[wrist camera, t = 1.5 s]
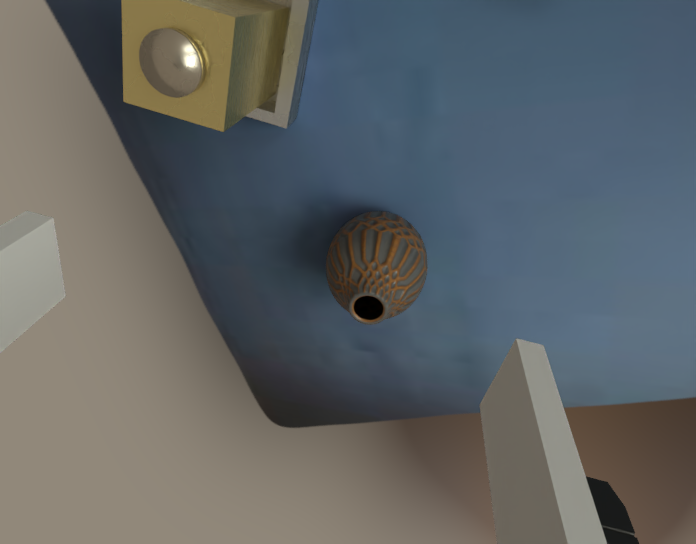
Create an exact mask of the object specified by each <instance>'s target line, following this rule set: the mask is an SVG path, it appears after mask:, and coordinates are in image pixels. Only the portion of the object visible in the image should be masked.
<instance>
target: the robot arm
mask: <svg viewBox="0 0 696 544" xmlns="http://www.w3.org/2000/svg"><path fill="white" fill-rule="evenodd" d="M65 296H66V295H65V288H64V283H63V275H62V269H61V263H60V256H59V250H58V243H57V237H56V231H55V224H54V218H53V217H49V216H45V215H41V214H37V213H34V212H30V211H25V212H24V213H22V214H20V215H18V216H16V217H15V218H13V219H11V220H9V221H8V222H6V223H4V224H2V225H1V226H0V353H1V352H2V351H3V350H4V349H6V348H7V347H8V346H9V345H10V344H11V343H12V342H14V341H15V340H16V339H17V338H18V337H19V336H21V335H22V334H23V333H24V332H25V331H26V330H27V329H29V328H30V327H31V326H32V325H33V324H34V323H36V322H37V321H38V320H39V319H40V318H41V317H42V316H43V315H45V314H46V313H47V312H48V311H49V310H51V309H52V308H53V307H54V306H55V305H56V304H58V303H59V302H60V301H61V300H62V299H63V298H64V297H65ZM480 411H481V419H482V427H483V435H484V443H485V451H486V459H487V467H488V475H489V483H490V491H491V499H492V507H493V515H494V523H495V530H496V539H497V544H639V542H638V540H637V538H635V537H634V533H635V532H634V529H633V527H632V524H631V521H630V519H629V516H628V513H627V511H626V508H625V506H624V505H623V503H622V502H621V500H620V499H619V498H618V496H617V495H616V494H615V492H614V491H613V490H612V488H611V486H610V485H609V484H608V482H605V481H601V480H597V479H593V478H590V477H586V476H585V473H584V470H583V467H582V464H581V461H580V458H579V454H578V451H577V448H576V445H575V442H574V439H573V436H572V433H571V430H570V426H569V423H568V420H567V417H566V414H565V411H564V408H563V405H562V402H561V398H560V395H559V392H558V389H557V386H556V383H555V380H554V377H553V374H552V370H551V367H550V364H549V361H548V358H547V355H546V352H545V349H544V346H543V345H540V344H536V343H532V342H528V341H525V340H521V339H517V338H516V340H515V341H514V343H513V345H512V347H511V349H510V351H509V352H508V354H507V356H506V358H505V360H504V361H503V363H502V365H501V367H500V369H499V371H498V372H497V374H496V376H495V378H494V380H493V382H492V383H491V385H490V387H489V389H488V391H487V392H486V394H485V396H484V398H483V400H482V402H481V403H480Z"/></svg>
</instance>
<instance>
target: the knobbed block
mask: <svg viewBox="0 0 696 544" xmlns="http://www.w3.org/2000/svg"><path fill="white" fill-rule="evenodd" d="M288 13H289V7H286V6H283V5H280V4H276V3H273V2H270V1H267V0H122V50H123V102H126V103H129V104H132V105H136V106H139V107H142V108H146V109H149V110H152V111H156V112H159V113H162V114H166V115H169V116H172V117H175V118H179V119H182V120H185V121H189V122H192V123H195V124H199V125H202V126H205V127H209V128H212V129H215V130H219V131H222V132H224V131H226V130H227V129H228V128H230V127H231V126H233V125H234V124H235V123H237V122H238V121H239V120H241V119H242V118H243V117H245V116H246V115H248V114H249V113H250V112H252V111H253V110H254V109H256V108H257V107H259V106H260V105H261V104H263V103H264V102H265V101H267V100H268V99H269V98H271V97H272V96H274V95H275V94H276V89H277V83H278V77H279V70H280V64H281V58H282V51H283V45H284V39H285V32H286V26H287V20H288Z"/></svg>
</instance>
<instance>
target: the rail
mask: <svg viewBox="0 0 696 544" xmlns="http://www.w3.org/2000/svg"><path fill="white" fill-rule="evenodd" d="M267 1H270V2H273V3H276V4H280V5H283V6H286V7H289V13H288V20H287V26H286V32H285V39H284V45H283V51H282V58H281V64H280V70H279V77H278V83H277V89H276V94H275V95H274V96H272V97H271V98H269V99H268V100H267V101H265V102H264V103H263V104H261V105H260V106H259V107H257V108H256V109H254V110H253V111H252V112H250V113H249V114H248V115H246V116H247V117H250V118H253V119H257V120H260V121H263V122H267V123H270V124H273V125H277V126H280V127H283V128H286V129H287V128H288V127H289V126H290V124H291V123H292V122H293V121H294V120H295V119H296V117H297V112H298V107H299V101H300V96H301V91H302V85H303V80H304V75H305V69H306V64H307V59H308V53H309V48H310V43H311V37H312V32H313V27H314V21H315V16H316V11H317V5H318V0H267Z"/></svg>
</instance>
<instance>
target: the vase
mask: <svg viewBox="0 0 696 544" xmlns="http://www.w3.org/2000/svg"><path fill="white" fill-rule="evenodd" d="M326 275H327V281H328V284H329V288H330V290H331V292H332V294H333V296H334V298H335V299H336V301H337V302H338V303H339V304H340V305H341V306H342V307H343V308H344V309H345V310H347V311H348V312H349V313H350V314H351V316H352V317H353V318H354V319H355V320H357V321H358V322H360V323H363V324H377V323H379V322H381V321H383V320H384V319H388V318H391V317H394V316H396V315H398V314H400V313H402V312H403V311H405V310H406V309H407V308H408V307H409V306H411V304H412V303H413V302H414V301H415V300H416V298H417V297H418V295H419V294H420V292H421V290H422V288H423V285H424V283H425V279H426V275H427V254H426V249H425V246H424V243H423V241H422V239H421V237H420V235H419V233H418V232H417V231H416V229H415V228H414V227H413V226H412V225H411V224H410V223H409V222H408V221H406V220H405V219H404V218H402V217H400V216H398V215H396V214H393V213H390V212H384V211H373V212H367V213H363V214H360V215H358V216H356V217H354V218H353V219H351V220H349V221H348V222H347V223H346V224H345V225H344V226H342V227H341V228H340V230H339V231H338V232H337V234H336V235H335V237H334V239H333V240H332V243H331V245H330V247H329V250H328V254H327V258H326Z"/></svg>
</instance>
